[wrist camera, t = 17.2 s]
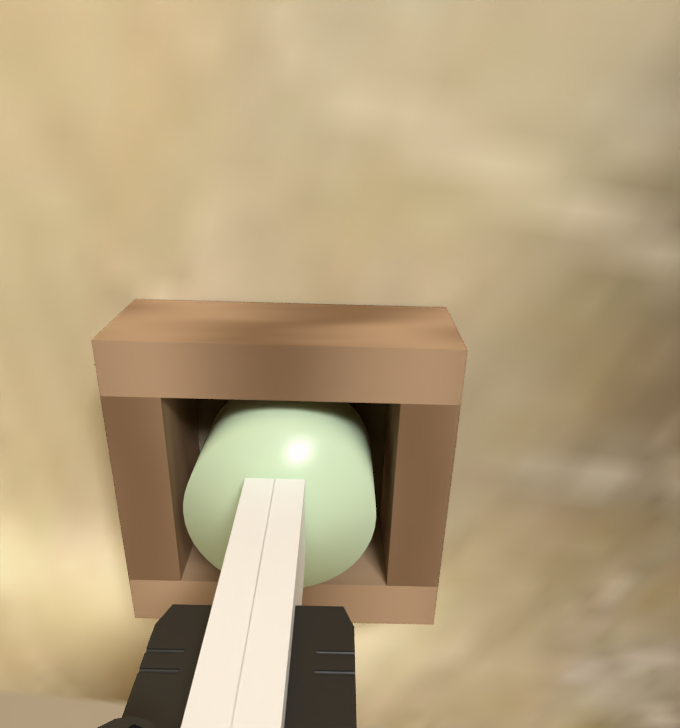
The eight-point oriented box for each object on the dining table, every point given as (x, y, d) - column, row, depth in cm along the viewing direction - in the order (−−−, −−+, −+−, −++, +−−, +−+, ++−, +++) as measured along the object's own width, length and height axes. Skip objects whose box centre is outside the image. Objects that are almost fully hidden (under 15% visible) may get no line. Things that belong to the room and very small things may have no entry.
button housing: (445, 307, 17) (467, 350, 14) (420, 550, 21) (433, 624, 18) (134, 299, 17) (91, 340, 14) (164, 544, 21) (135, 617, 18)
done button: (375, 381, 17) (381, 435, 14) (367, 520, 19) (371, 591, 16) (202, 377, 17) (174, 430, 14) (212, 516, 19) (190, 587, 16)
